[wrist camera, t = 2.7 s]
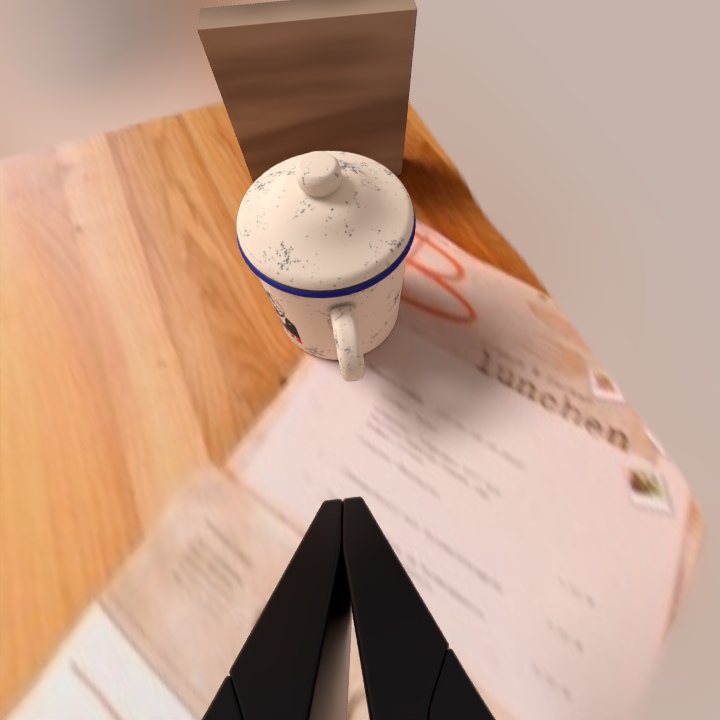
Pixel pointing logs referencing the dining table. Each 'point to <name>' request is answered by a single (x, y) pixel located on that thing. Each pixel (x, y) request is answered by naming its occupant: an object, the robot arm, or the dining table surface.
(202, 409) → the dining table surface
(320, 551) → the robot arm
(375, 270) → the teacup with lid
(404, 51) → the bookend
